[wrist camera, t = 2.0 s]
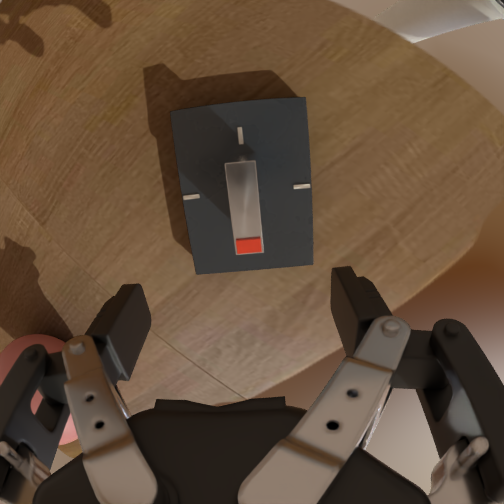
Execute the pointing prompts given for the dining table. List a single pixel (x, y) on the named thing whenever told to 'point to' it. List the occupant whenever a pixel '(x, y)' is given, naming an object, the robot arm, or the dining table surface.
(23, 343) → the balloon
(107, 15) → the dining table surface
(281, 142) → the base
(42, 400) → the robot arm
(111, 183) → the dining table surface
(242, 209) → the tap handle
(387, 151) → the dining table surface
